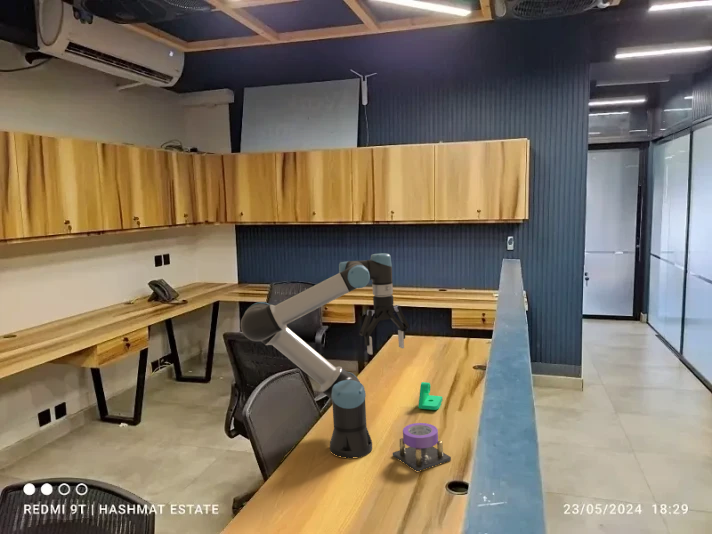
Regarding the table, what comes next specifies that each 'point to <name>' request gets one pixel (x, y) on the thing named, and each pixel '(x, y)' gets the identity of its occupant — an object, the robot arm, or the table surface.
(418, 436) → the masking tape
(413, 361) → the table surface
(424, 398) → the camera mount
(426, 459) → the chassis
